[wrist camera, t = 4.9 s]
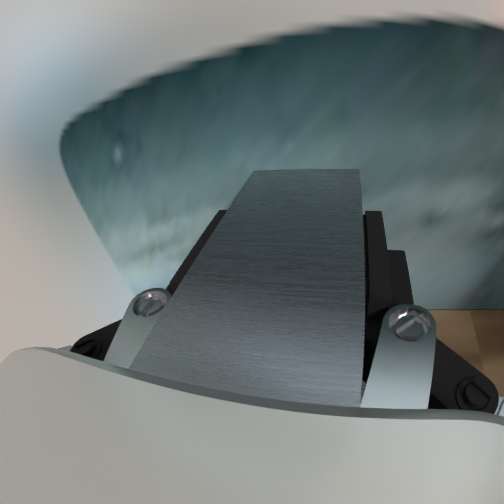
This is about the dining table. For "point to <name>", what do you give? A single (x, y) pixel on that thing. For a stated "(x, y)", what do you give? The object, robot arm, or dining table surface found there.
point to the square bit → (273, 295)
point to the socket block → (475, 339)
